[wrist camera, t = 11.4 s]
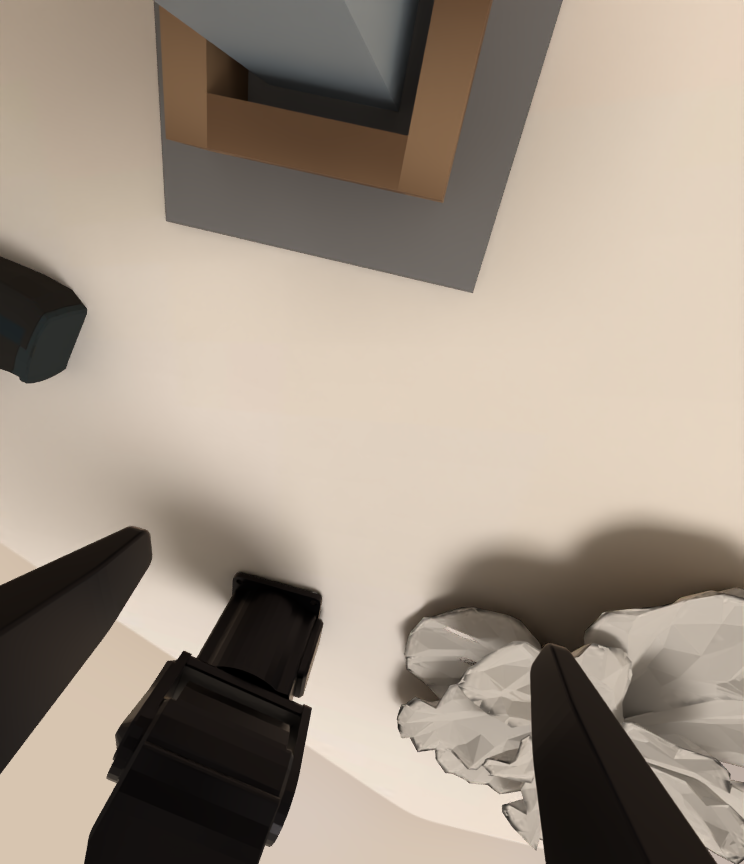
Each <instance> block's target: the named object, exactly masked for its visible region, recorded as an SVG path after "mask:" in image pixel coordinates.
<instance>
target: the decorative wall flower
mask: <svg viewBox="0 0 744 864" xmlns="http://www.w3.org/2000/svg"><path fill="white" fill-rule="evenodd" d="M445 627H450V628H452V629H455V630H457V631H459V632H462V633H464V634H467V635H469V636H471V637H472V638H473V639H474V640H475V641H477V642H475V641H472V640H469V639H466V638H463V637H460V636H458V635H456V634H454V633H452V632H450V631H449V630H447V629H445ZM541 650H542V648H541V645H540V643H539V642H538V640H537V639H536V638H535V637H534V636H533V635H532V634H531V633H530V631H529V630H528V629H527V628H526V627H525V625H524V624H523V623H522V622H521V621H520V620H518V619H516V618H514V617H512V616H509V615H506V614H502V613H497V612H493V611H489V610H484V609H480V608H475V607H461V608H458V609H455V610H452V611H448V612H445V613H443V614H440V615H437V616H433V617H423V618H422V620H421V621H420V622H419V623H418V624H417V625H416V626H415V627H414V629H413V630H412V631H411V632H410V634H409V637H408V641H407V645H406V649H405V653H404V655H405V656H406V667H407V670H408V671H409V672H411V673H412V674H413V675H415V676H416V677H417V678H419V679H420V680H421V681H423V682H424V683H425V684H427V686H428V687H429V688H430V689H431V690H432V691H433V693H434V694H435V695H436V696H437V697H438V698H439V699H440V700H438V701H433V702H428V701H425V700H422V699H419V698H417V697H414V698H413V699H412V700H410V701H409V702H408V703H407V704H404V705H401V707H400V710H399V713H398V716H397V721H398V730H399V732H400V734H401V738H409V737H410V739H411V741H412V743H413V744H414V746H415V748H416V750H417V752H421V751H428V750H435V754H436V760H437V761H438V763H439V765H440V766H441V767H442V769H443V770H444V772H445V773H451V774H454V775H456V776H458V777H460V778H462V779H464V780H466V781H467V782H468V783H473V784H484V785H488V786H490V787H491V788H492V789H493V790H495V791H496V792H497V793H499V794H504V793H511V792H517V791H521V792H522V796H523V799H522V800H518V801H515V802H511V803H508V804H504V805H502V812H503V814H504V815H505V817H506V818H507V820H508V821H509V823H510V825H511V826H512V827H513V828H514V829H515V830H516V831H517V832H518V833H519V834H520V835H521V836H522V837H523V838H524V840H525V841H526V842H527V843H528V844H529V845H530V846H531V847H533V848H534V849H535V850H537V846H538V842H539V839H540V840H543V838H542V830H541V822H540V814H539V806H538V798H537V790H536V782H535V774H534V765H533V755H532V732H531V695H530V670H531V666H532V663H533V662H534V660H535V659H536V657H537V656H538V654H539V653H540V651H541ZM572 655H573V656H574V658H575V659H576V660H577V662H578V663H579V665H580V666H581V668H582V669H583V671H584V672H585V673H586V675H587V676H588V678H589V679H590V681H591V682H592V684H593V685H594V686H595V688H596V689H597V691H598V692H599V694H600V695H601V697H602V698H603V699H604V701H605V702H606V704H607V705H608V707H609V708H610V709H611V711H612V712H613V714H614V715H615V717H616V718H617V720H618V721H619V722H620V724H621V725H622V727H623V728H624V730H625V731H626V733H627V734H628V735H629V737H630V738H631V740H632V741H633V743H634V744H635V746H636V747H637V748H638V750H639V751H640V753H641V754H642V756H643V757H644V759H645V760H646V761H647V763H648V764H649V766H650V767H651V769H652V770H653V772H654V773H655V774H656V776H657V777H658V779H659V780H660V782H661V783H662V785H663V786H664V787H665V789H666V790H667V792H668V793H669V795H670V796H671V798H672V799H673V800H674V802H675V803H676V805H677V806H678V808H679V809H680V811H681V812H682V813H683V815H684V816H685V818H686V819H687V821H688V822H689V823H690V825H691V826H692V828H693V829H694V831H695V832H696V834H697V835H698V836H699V838H700V839H701V841H702V842H703V844H704V845H705V847H706V848H707V849H709V850H710V851H712V852H714V853H716V854H717V855H719V856H720V857H722V858H725V859H727V860H728V861H731V862H732V863H734V864H739V863H741V862H742V861H743V860H744V782H739V781H734V780H730V773H729V772H728V771H727V769H726V768H725V767H724V766H723V765H722V764H721V763H720V762H719V761H721V762H725V763H729V764H732V765H736V766H740V767H744V589H742V588H731V589H727V590H723V591H719V592H716V591H712V590H710V591H706V592H701V593H697V594H693V595H689V596H685V597H681V598H679V599H678V600H677V601H676V602H674V603H671V604H667V605H663V606H657V607H646V608H636V609H626V610H615V611H605V612H603V613H602V614H601V615H600V616H599V618H598V619H597V620H596V621H595V622H594V623H593V624H592V625H591V626H590V627H589V628H588V629H587V630H586V631H585V635H584V646H583V647H581V648H579V649H577V650H575V651H573V652H572ZM459 657H461V658H466V659H470V660H472V661H474V662H476V664H474V665H470V664H468V663H465V662H463V661H461V660H460V658H459Z"/></svg>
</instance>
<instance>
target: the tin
mask: <svg viewBox="0 0 744 864" xmlns="http://www.w3.org/2000/svg"><path fill="white" fill-rule="evenodd" d="M153 1H155V2H156V3H157V4H159V5H160V6H161V7H163V8H164V9H166V10H167V11H168V12H170V13H171V14H172V15H174V16H175V17H177V18H178V19H179V20H181V21H182V22H183V23H185V24H186V25H188V26H189V27H190V28H192V29H193V30H194V31H196V32H197V33H199V34H200V35H201V36H203V37H204V38H205V39H207V40H208V41H210V42H211V43H212V44H214V45H215V46H216V47H218V48H219V49H221V50H222V51H223V52H225V53H226V54H227V55H229V56H230V57H232V58H233V59H234V60H236V61H237V62H238V63H240V64H241V65H243V66H244V67H245V68H247V69H248V70H249V71H251V72H252V73H254V74H255V75H256V76H258V77H259V78H260V79H262V80H263V81H265V82H266V83H267V84H269V85H272V86H277V87H281V88H286V89H291V90H296V91H300V92H305V93H310V94H315V95H320V96H324V97H329V98H334V99H339V100H343V101H348V102H353V103H358V104H362V105H367V106H372V107H377V108H382V109H386V110H391V111H396V112H399V109H400V104H401V98H402V93H403V87H404V81H405V76H406V70H407V65H408V59H409V53H410V48H411V42H412V37H413V31H414V26H415V20H416V14H417V9H418V3H419V0H153Z"/></svg>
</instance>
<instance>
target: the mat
mask: <svg viewBox="0 0 744 864" xmlns="http://www.w3.org/2000/svg"><path fill="white" fill-rule="evenodd" d="M562 1H563V0H493V2H492V6H491V10H490V14H489V18H488V22H487V26H486V31H485V35H484V39H483V43H482V47H481V51H480V55H479V59H478V63H477V67H476V71H475V75H474V79H473V83H472V88H471V92H470V96H469V100H468V104H467V108H466V112H465V116H464V120H463V124H462V128H461V132H460V136H459V140H458V145H457V149H456V153H455V157H454V161H453V165H452V169H451V173H450V177H449V181H448V185H447V189H446V193H445V197H444V202H443V203H441V202H437V201H432V200H428V199H423V198H419V197H414V196H410V195H405V194H401V193H396V192H392V191H387V190H383V189H378V188H374V187H369V186H365V185H360V184H356V183H351V182H347V181H342V180H338V179H333V178H329V177H324V176H320V175H315V174H311V173H306V172H302V171H297V170H293V169H288V168H284V167H279V166H275V165H270V164H266V163H261V162H257V161H252V160H248V159H243V158H239V157H234V156H230V155H225V154H221V153H216V152H212V151H208V150H204V149H201V148H197V147H193V146H190V145H186V144H183V143H179V142H175V141H172V140H168V139H166V132H165V112H164V92H163V72H162V52H161V32H160V12H159V4H157V3H156V2H155V1H154V11H155V29H156V48H157V66H158V84H159V103H160V121H161V139H162V158H163V176H164V194H165V213H166V221H168V222H172V223H176V224H181V225H185V226H189V227H193V228H198V229H202V230H206V231H210V232H215V233H219V234H223V235H228V236H232V237H236V238H240V239H245V240H249V241H253V242H257V243H262V244H266V245H270V246H275V247H279V248H283V249H287V250H292V251H296V252H300V253H304V254H309V255H313V256H317V257H321V258H326V259H330V260H334V261H339V262H343V263H347V264H351V265H356V266H360V267H364V268H368V269H373V270H377V271H381V272H385V273H390V274H394V275H398V276H403V277H407V278H411V279H415V280H420V281H424V282H428V283H432V284H437V285H441V286H445V287H449V288H454V289H458V290H462V291H467V292H471V293H473V290H474V287H475V284H476V281H477V277H478V274H479V271H480V268H481V264H482V261H483V258H484V255H485V251H486V248H487V245H488V242H489V238H490V235H491V232H492V229H493V225H494V222H495V219H496V216H497V212H498V209H499V206H500V203H501V199H502V196H503V193H504V190H505V186H506V183H507V180H508V177H509V173H510V170H511V167H512V164H513V160H514V157H515V154H516V151H517V147H518V144H519V141H520V138H521V134H522V131H523V128H524V125H525V121H526V118H527V115H528V112H529V108H530V105H531V102H532V99H533V95H534V92H535V89H536V86H537V82H538V79H539V76H540V73H541V69H542V66H543V63H544V60H545V56H546V53H547V50H548V47H549V43H550V40H551V37H552V34H553V30H554V27H555V24H556V21H557V17H558V14H559V11H560V7H561V4H562ZM433 6H434V0H419V3H418V9H417V14H416V20H415V26H414V31H413V37H412V42H411V48H410V53H409V59H408V65H407V70H406V76H405V81H404V87H403V93H402V98H401V104H400V109H399V112H396V111H391V110H386V109H382V108H377V107H372V106H367V105H362V104H358V103H353V102H348V101H343V100H339V99H334V98H329V97H324V96H320V95H315V94H310V93H305V92H300V91H296V90H291V89H286V88H281V87H277V86H272V85H269V84H267V83H266V82H265V81H263V80H262V79H260V78H259V77H258V76H256V75H255V74H254V73H252V72H251V71H249V76H248V102H253V103H258V104H262V105H267V106H272V107H276V108H281V109H286V110H290V111H295V112H300V113H304V114H309V115H314V116H318V117H323V118H328V119H332V120H337V121H342V122H346V123H351V124H356V125H360V126H365V127H369V128H374V129H379V130H383V131H388V132H393V133H397V134H402V135H407V136H408V134H409V129H410V124H411V119H412V114H413V109H414V103H415V98H416V93H417V88H418V83H419V78H420V73H421V67H422V62H423V57H424V52H425V47H426V42H427V36H428V31H429V26H430V21H431V16H432V11H433Z"/></svg>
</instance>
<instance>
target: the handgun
mask: <svg viewBox="0 0 744 864" xmlns="http://www.w3.org/2000/svg"><path fill="white" fill-rule="evenodd" d="M86 315H87V308H86V307H85V306H84V305H83V303H82V302H81V301H80V300H79V298H78V297H77V296H76V294H75V293H74V292H73V291H72V290H71V289H69V288H67V287H65V286H64V285H62V284H60V283H58V282H56V281H55V280H53V279H51V278H49V277H47V276H46V275H44V274H41V273H39V272H37V271H34V270H32V269H29V268H27V267H24V266H22V265H20V264H17V263H15V262H12V261H10V260H8V259H5V258H3V257H0V369H2V370H5V371H8V372H10V373H13V374H15V375H17V376H19V377H20V380H21V381H22V382H25V383H36V382H40V381H43V380H46V379H48V378H51V377H53V376H55V375H56V374H58V373H60V372H62V371H63V370H64V369H66V366H67V363H68V360H69V358H70V355H71V353H72V350H73V348H74V345H75V343H76V340H77V337H78V335H79V332H80V330H81V327H82V325H83V322H84V320H85V317H86Z"/></svg>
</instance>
